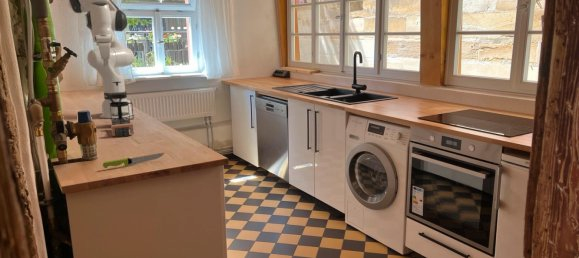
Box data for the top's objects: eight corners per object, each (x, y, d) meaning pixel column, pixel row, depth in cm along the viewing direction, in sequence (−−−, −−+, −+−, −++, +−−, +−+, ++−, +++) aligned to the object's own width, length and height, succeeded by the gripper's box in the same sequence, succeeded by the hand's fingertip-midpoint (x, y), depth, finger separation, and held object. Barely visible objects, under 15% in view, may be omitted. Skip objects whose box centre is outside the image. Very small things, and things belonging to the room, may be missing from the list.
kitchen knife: (164, 159, 166) (164, 151, 165) (165, 160, 165) (165, 152, 164) (103, 170, 154) (102, 162, 153) (104, 171, 153) (103, 163, 152)
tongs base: (112, 129, 216) (111, 118, 215) (129, 127, 220) (128, 117, 218) (114, 137, 199) (113, 126, 198) (132, 135, 203) (131, 124, 201)
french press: (109, 128, 219) (105, 83, 214) (110, 124, 227) (105, 81, 222) (134, 126, 223) (130, 81, 218) (133, 122, 231) (129, 80, 226)
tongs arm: (122, 130, 214) (121, 122, 213) (127, 129, 215) (126, 121, 214) (124, 136, 201) (123, 127, 200) (129, 135, 202) (128, 127, 201)
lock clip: (133, 132, 206) (132, 123, 205) (133, 133, 204) (132, 124, 203) (112, 134, 203) (111, 125, 202) (112, 135, 200) (111, 126, 199)
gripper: (95, 37, 210) (98, 66, 213) (96, 38, 192) (99, 69, 195) (109, 37, 213) (112, 65, 216) (111, 38, 195) (114, 69, 198)
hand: (106, 67), depth 205 cm, fingers open, 8 cm apart
